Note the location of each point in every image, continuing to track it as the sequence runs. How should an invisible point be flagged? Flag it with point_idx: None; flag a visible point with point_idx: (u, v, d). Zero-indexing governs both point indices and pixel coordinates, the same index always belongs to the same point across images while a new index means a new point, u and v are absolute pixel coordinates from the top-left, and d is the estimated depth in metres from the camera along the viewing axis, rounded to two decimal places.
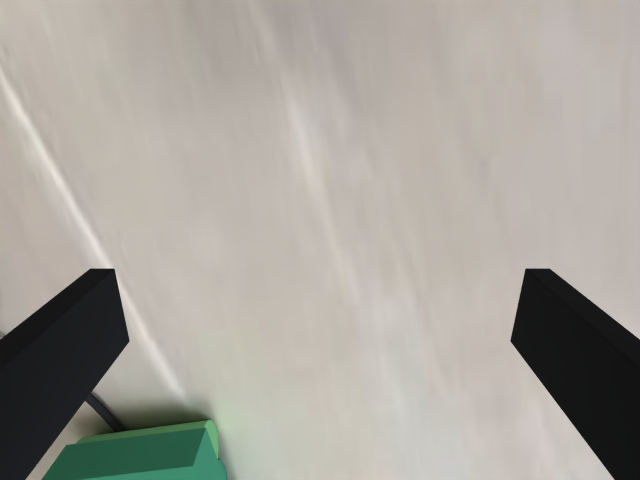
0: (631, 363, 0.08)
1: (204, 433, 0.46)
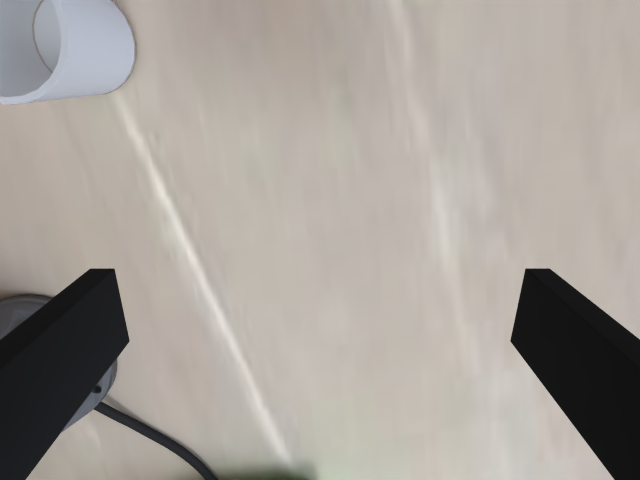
0: (631, 363, 0.08)
1: None
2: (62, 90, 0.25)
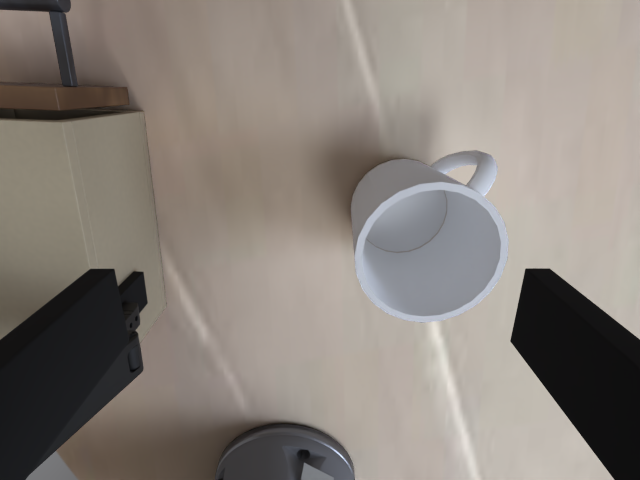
0: (631, 363, 0.08)
1: None
2: None
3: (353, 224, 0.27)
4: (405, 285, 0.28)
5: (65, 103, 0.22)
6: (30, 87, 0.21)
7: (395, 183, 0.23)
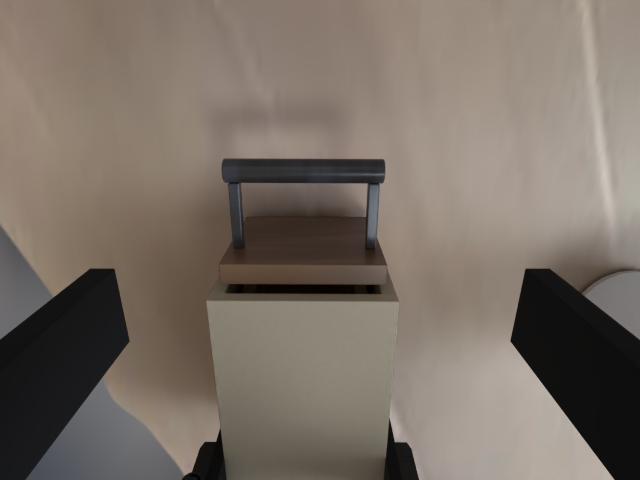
0: (631, 363, 0.08)
1: None
2: None
3: None
4: None
5: None
6: (362, 265, 0.21)
7: None
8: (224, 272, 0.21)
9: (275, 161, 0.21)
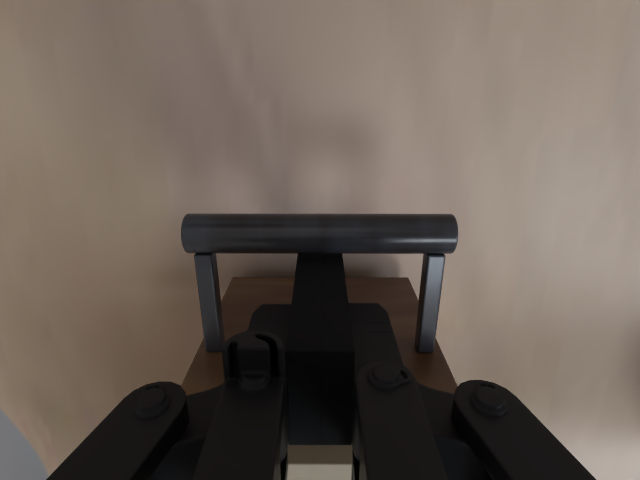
0: (320, 304, 0.10)
1: None
2: None
3: None
4: None
5: None
6: None
7: None
8: None
9: (272, 221, 0.12)
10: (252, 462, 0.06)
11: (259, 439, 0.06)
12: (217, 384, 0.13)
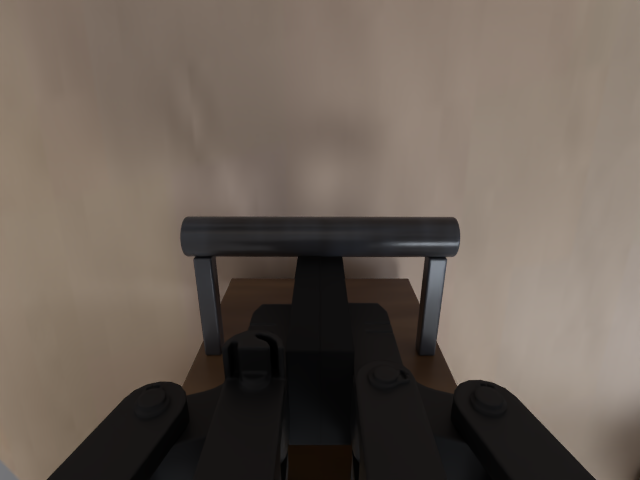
0: (319, 304, 0.10)
1: None
2: None
3: None
4: None
5: None
6: None
7: None
8: None
9: (272, 224, 0.12)
10: (252, 462, 0.06)
11: (259, 439, 0.06)
12: None
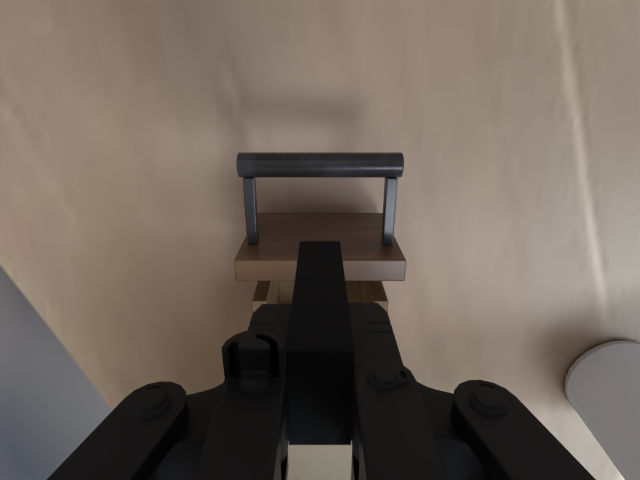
0: (319, 304, 0.10)
1: None
2: None
3: (609, 430, 0.29)
4: None
5: None
6: (380, 261, 0.20)
7: None
8: (239, 269, 0.21)
9: (291, 155, 0.20)
10: (252, 462, 0.06)
11: (259, 439, 0.07)
12: (257, 256, 0.21)
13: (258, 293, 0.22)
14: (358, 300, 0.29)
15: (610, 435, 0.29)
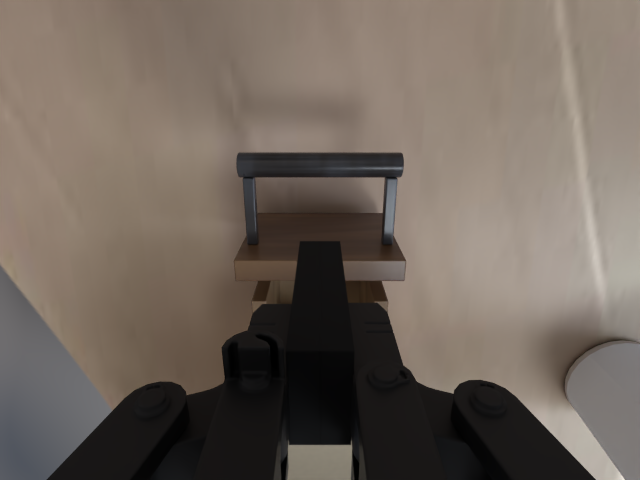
0: (319, 304, 0.10)
1: None
2: None
3: (609, 430, 0.29)
4: None
5: None
6: (380, 261, 0.20)
7: None
8: (239, 269, 0.21)
9: (291, 155, 0.20)
10: (252, 462, 0.06)
11: (259, 439, 0.07)
12: (257, 256, 0.21)
13: (258, 293, 0.22)
14: (358, 300, 0.29)
15: (610, 435, 0.29)
